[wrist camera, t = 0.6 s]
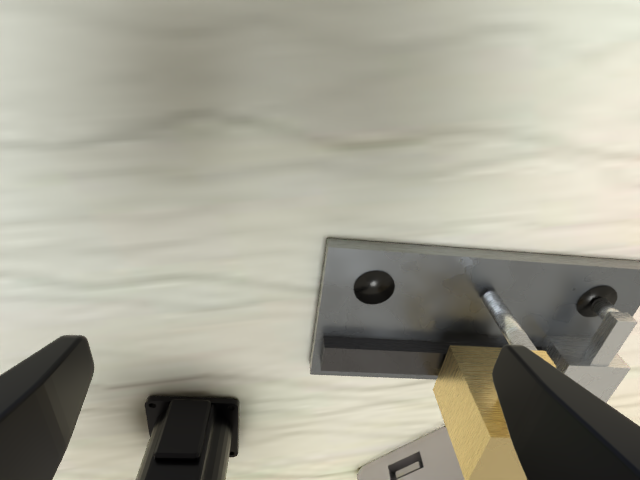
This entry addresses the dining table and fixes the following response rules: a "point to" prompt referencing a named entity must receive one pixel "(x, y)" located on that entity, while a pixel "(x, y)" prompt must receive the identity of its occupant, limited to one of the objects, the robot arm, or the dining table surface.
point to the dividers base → (469, 309)
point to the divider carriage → (481, 401)
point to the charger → (417, 461)
